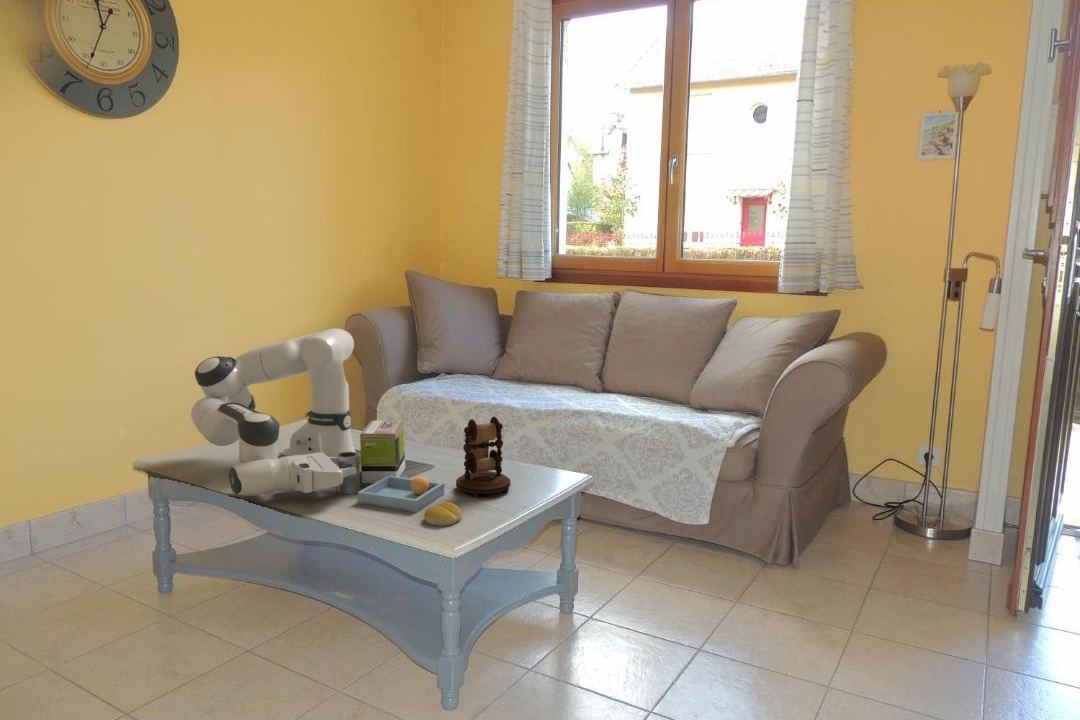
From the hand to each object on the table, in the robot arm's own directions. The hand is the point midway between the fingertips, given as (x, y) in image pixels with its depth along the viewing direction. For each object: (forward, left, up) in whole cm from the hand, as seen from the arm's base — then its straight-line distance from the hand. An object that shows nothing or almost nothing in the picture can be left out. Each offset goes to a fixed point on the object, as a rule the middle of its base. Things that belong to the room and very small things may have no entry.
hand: (350, 465), depth 205 cm
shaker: (0, -1, -7) cm, 7 cm away
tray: (+16, -1, -7) cm, 17 cm away
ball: (+19, +3, -4) cm, 20 cm away
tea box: (+1, +14, -7) cm, 16 cm away
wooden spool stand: (+32, +14, -7) cm, 36 cm away
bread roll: (+33, -10, -7) cm, 35 cm away
